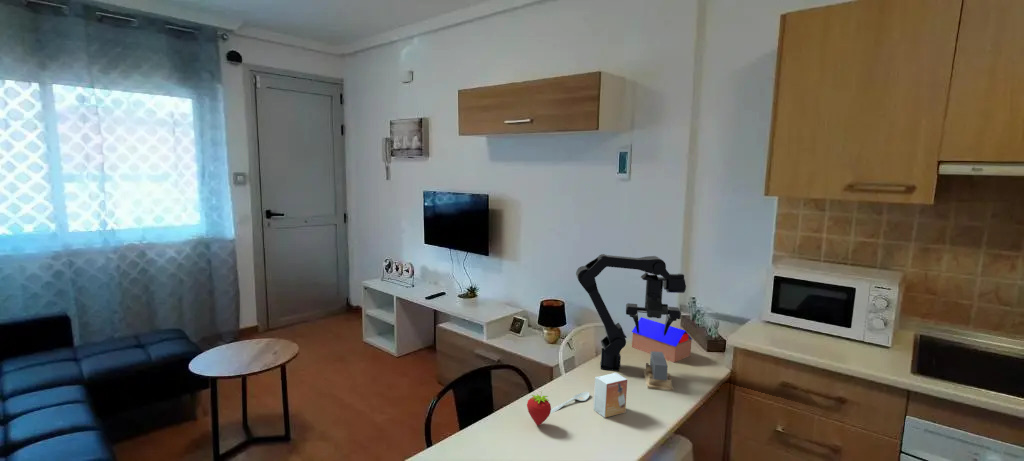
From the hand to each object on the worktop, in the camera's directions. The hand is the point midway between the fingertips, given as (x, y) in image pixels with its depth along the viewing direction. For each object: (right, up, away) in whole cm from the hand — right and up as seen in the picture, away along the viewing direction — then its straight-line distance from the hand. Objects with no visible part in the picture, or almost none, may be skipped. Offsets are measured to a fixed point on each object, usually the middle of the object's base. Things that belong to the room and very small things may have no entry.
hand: (651, 334), depth 174 cm
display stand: (0, -14, -8) cm, 16 cm away
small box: (-21, -17, -30) cm, 40 cm away
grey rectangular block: (0, -11, -9) cm, 14 cm away
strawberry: (-43, -17, -38) cm, 60 cm away
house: (+9, -11, +18) cm, 23 cm away
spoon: (-34, -17, -27) cm, 46 cm away
